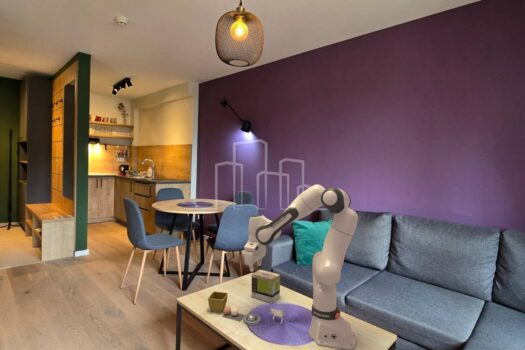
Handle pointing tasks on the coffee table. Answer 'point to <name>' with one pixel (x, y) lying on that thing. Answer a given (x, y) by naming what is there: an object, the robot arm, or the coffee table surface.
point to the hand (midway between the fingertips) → (255, 268)
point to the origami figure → (277, 313)
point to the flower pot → (217, 301)
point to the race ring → (252, 321)
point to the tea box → (266, 286)
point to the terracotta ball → (227, 310)
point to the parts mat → (236, 318)
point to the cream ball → (234, 311)
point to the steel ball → (251, 318)
